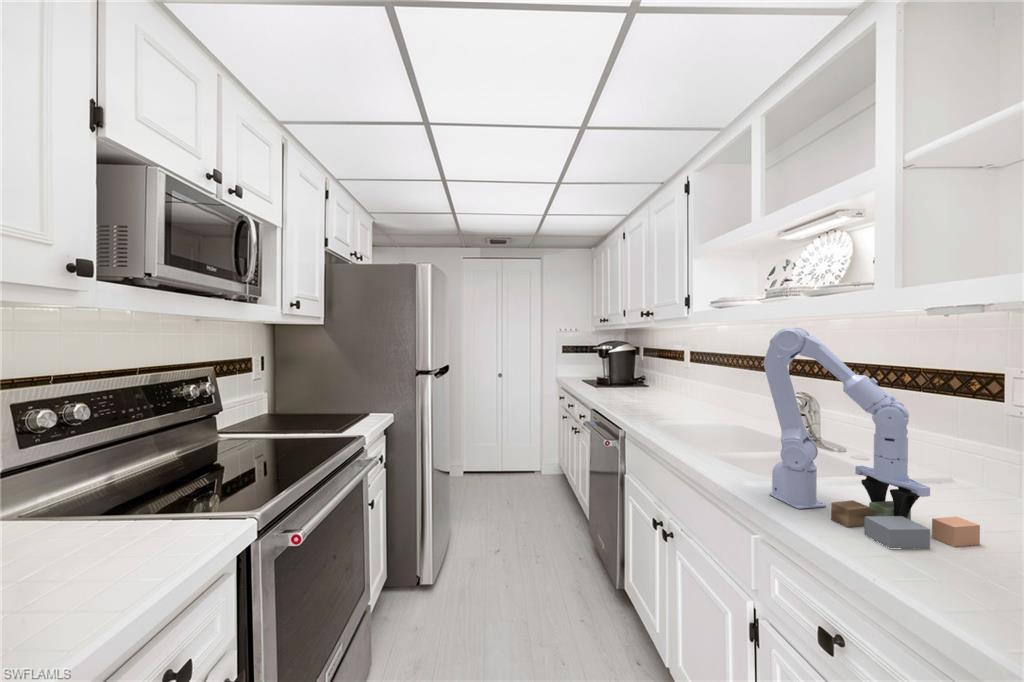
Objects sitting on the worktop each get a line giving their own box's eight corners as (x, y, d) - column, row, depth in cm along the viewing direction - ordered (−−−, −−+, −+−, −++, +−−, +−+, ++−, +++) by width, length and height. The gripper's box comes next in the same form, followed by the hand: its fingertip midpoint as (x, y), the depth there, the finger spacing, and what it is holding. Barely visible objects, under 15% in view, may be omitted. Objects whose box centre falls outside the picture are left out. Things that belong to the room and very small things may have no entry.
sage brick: (869, 519, 97) (869, 502, 97) (892, 518, 98) (892, 500, 98) (886, 527, 93) (886, 509, 93) (910, 525, 94) (910, 508, 94)
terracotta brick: (931, 537, 89) (932, 518, 89) (956, 535, 90) (956, 516, 90) (953, 546, 85) (954, 527, 85) (979, 544, 86) (979, 525, 86)
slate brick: (864, 535, 90) (864, 516, 90) (902, 534, 90) (902, 516, 90) (889, 549, 84) (889, 529, 84) (929, 549, 84) (930, 529, 84)
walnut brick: (831, 519, 98) (831, 502, 98) (852, 517, 99) (852, 500, 99) (848, 527, 94) (848, 509, 94) (870, 524, 95) (870, 507, 95)
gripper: (942, 465, 89) (941, 529, 89) (873, 446, 103) (872, 502, 103) (914, 467, 88) (913, 532, 88) (848, 448, 102) (847, 504, 102)
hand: (889, 516), depth 95 cm, fingers closed on sage brick, 4 cm apart
